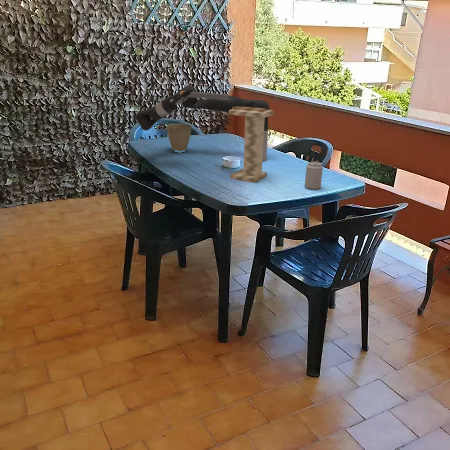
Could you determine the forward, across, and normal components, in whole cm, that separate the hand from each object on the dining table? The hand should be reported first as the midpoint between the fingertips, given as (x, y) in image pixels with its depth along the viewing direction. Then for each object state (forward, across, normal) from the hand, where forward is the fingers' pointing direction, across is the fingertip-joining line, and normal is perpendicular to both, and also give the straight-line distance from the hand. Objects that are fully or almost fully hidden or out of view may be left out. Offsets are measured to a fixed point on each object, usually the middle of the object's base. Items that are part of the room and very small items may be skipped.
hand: (190, 91), depth 228 cm
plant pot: (-43, +30, +21) cm, 57 cm away
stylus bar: (+5, 0, +6) cm, 8 cm away
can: (+38, -1, +68) cm, 78 cm away
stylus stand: (+9, 0, +51) cm, 52 cm away
